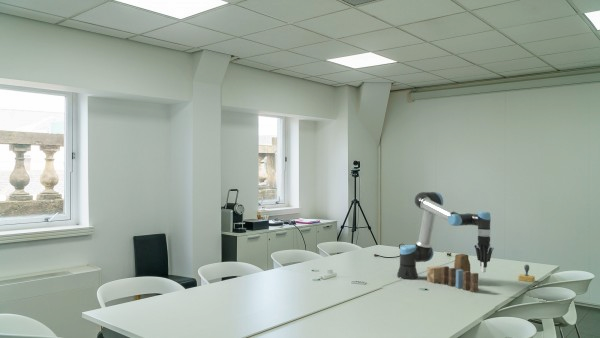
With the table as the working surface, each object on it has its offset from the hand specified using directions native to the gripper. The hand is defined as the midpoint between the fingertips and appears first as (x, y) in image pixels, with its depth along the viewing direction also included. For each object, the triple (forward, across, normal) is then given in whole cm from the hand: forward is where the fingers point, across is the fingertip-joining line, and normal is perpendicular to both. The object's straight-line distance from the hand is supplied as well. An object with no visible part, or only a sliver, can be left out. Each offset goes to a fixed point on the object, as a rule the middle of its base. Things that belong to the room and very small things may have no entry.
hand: (483, 272), depth 298 cm
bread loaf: (+14, -28, +15) cm, 35 cm away
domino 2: (+14, -25, 0) cm, 29 cm away
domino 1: (+14, -31, 0) cm, 34 cm away
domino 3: (+14, -19, 0) cm, 24 cm away
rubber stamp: (+14, -10, +64) cm, 66 cm away
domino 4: (+14, -13, 0) cm, 19 cm away
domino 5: (+14, -7, 0) cm, 16 cm away
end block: (+14, -39, 0) cm, 41 cm away
